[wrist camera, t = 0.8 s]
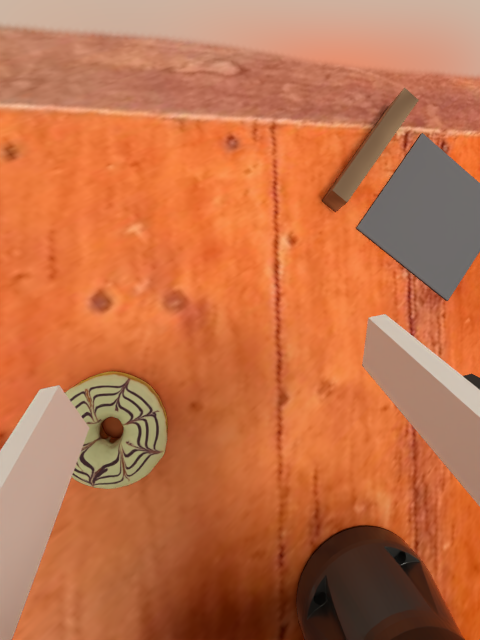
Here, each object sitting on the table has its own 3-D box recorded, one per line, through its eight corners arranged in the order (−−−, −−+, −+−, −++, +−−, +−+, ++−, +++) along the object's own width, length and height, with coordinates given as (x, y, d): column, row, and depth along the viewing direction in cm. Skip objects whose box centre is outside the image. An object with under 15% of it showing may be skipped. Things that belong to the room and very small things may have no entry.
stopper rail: (401, 117, 31) (418, 100, 29) (335, 212, 30) (347, 202, 28) (388, 106, 31) (404, 87, 29) (321, 200, 30) (332, 190, 28)
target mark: (505, 208, 33) (507, 207, 33) (446, 300, 32) (447, 300, 32) (420, 134, 32) (422, 133, 32) (355, 228, 31) (356, 227, 31)
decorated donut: (91, 492, 27) (72, 519, 24) (44, 397, 27) (18, 409, 23) (186, 445, 29) (183, 464, 25) (143, 353, 28) (133, 358, 24)
